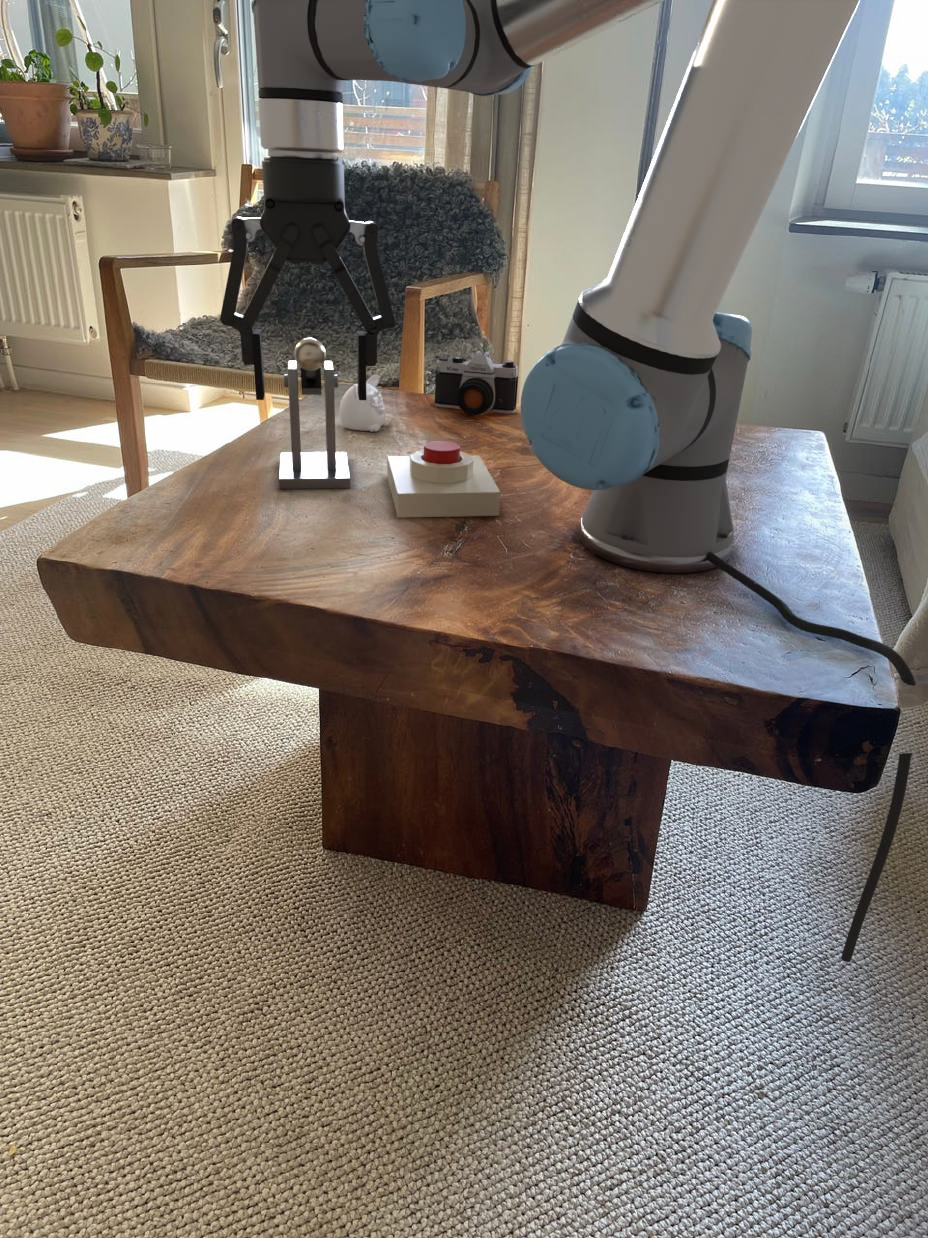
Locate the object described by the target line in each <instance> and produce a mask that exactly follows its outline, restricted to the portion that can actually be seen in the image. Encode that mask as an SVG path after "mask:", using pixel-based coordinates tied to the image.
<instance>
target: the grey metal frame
mask: <svg viewBox="0 0 928 1238" xmlns="http://www.w3.org/2000/svg"><path fill="white" fill-rule="evenodd" d="M333 363H334V362H333V361H332V360H325V362H324V364H323V380H324V381H323V383H324V412H325V413H324V414H325V418H324V419H325V448H326V449H325V451H310V452H309V451H308V452H307V451H306V452H305V451H304V452H302V444H301V442H302V440H301V439H302V438H301V419H300V397H299V396H300V394H299V373H298V372H299V371H298V364H297V362H296V360H288V361H287V374H285V373H284V374H283V386H284V387H283V388H288V405H289V407H288V408H289V425H290V445H291V446H290V447H291V448H290V449H291V451H289V452H288V451H287V452H284V451H283V452H282V451H281V452H280V455H279V469H278V471H279V472H278V489H279V490H300V489H301V490H302V489H303V490H305V489H306V490H307V489H308V490H309V489H310V490H311V489H313V490H314V489H351V473H350V467H349V459H348V453H347V451H337V450H336V449H337V446H336V412H335V410H336V409H335V408H336V407H335V404H336V403H335V402H336V401H335V389H337V388H339V375H338V374H335V369H334V364H333Z"/></svg>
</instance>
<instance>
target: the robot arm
mask: <svg viewBox="0 0 928 1238" xmlns="http://www.w3.org/2000/svg"><path fill="white" fill-rule="evenodd" d="M860 1H861V0H712V2H711V5H710V8H709V10H708V13H707V16H706V18H705V21H704V23H703V26H702V29H701V31H700V34H699V35H698V36H699V37H698V40H697V42H696V45H695V47H694V49H693V53H692V55H691V58H690V61H689V63H688V65H687V68H686V71H685V73H684V76H683V79H682V81H681V84H680V87H679V89H678V93H677V94H676V97H675V99H674V102H673V105H672V108H671V110H670V112H669V114H668V118H667V121H666V123H665V126H664V129H663V132H662V134H661V137H660V139H659V142H658V144H657V147H656V150H655V152H654V155H653V158H652V159H651V163H650V166H649V167H648V171H647V173H646V176H645V178H644V181H643V183H642V186H641V189H640V192H639V194H638V198H637V199H636V202H635V205H634V207H633V210H632V212H631V215H630V218H629V220H628V223H627V226H626V228H625V231H624V233H623V236H622V238H621V242H620V244H619V247H618V249H617V252H616V254H615V257H614V260H613V263H612V265H611V267H610V270H609V273H608V275H607V277H606V278H604V280H602V281H600V282H598V283H596V284H594V285H591V286H590V287H588V288H585V289H584V290H583V291H582V292H581V294H580V295H579V297H578V300H577V303H576V305H575V308H574V310H573V312H572V316H571V318H570V321H569V323H568V327H567V329H566V332H565V335H564V337H563V341H562V343H561V344H559V345H558V346H556V347H554V348H552V349H550V350H549V351H547V352H546V353H545V354H543V356H542V357H541V358H540V359H538V361H536V362H535V364H534V365H533V366H532V368H530V370H529V372H528V374H527V375H526V378H525V381H524V383H523V386H522V391H521V396H520V419H521V425H522V429H523V432H524V434H525V436H526V437H528V441H529V443H530V446H531V450H532V452H533V454H534V455H535V457H536V459H538V461H539V462H540V463H541V465H542V466H543V467H544V468H545V469H546V470H547V471H548V472H550V474H551V475H553V476H554V477H556V478H557V479H559V480H560V481H562V482H564V483H565V484H568V485H570V486H572V487H576V488H578V489H583V490H587V491H589V490H590V491H592V492H591V496H590V499H588V502H587V504H586V506H585V508H584V511H583V513H582V517H581V519H580V528H579V540H580V541H581V544H582V545H583V546H584V547H585V548H586V549H587V550H589V551H590V552H592V553H593V554H594V555H596V556H598V557H600V558H602V559H604V560H606V561H609V562H612V563H614V564H617V565H620V566H623V567H628V568H632V569H636V570H642V571H648V572H656V573H667V574H668V573H670V574H685V573H688V574H689V573H696V572H702V571H708V570H711V569H715V568H719V569H720V570H721V571H723V572H724V573H726V574H727V575H728V576H730V577H731V578H733V579H735V580H736V581H737V582H739V583H740V584H742V585H743V586H745V587H746V588H748V589H749V590H751V591H752V592H753V593H755V594H756V595H758V596H759V597H761V598H762V599H763V600H765V601H766V602H767V603H768V604H770V605H771V606H772V607H774V608H775V609H776V610H777V611H778V613H780V615H781V617H782V618H783V619H784V620H785V621H786V622H787V623H789V625H791V626H793V627H794V628H797V629H799V630H801V631H804V632H807V633H810V634H814V635H819V636H824V637H829V638H834V639H837V640H841V641H845V642H847V643H849V644H851V645H854V646H858V647H861V648H863V649H866V650H869V651H872V652H874V653H877V654H880V655H882V656H883V657H885V658H886V659H887V660H888V661H889V663H891V664H892V666H893V667H894V669H895V670H896V672H897V673H898V675H899V677H900V679H901V681H902V682H903V683H904V684H906V685H908V686H911V687H914V686H916V684H917V683H916V680H915V678H914V674H913V672H912V670H911V669H910V667H909V665H908V664H907V662H906V660H905V659H904V658H903V657H902V655H900V654H899V653H898V651H896V650H894V649H893V648H891V647H890V646H888V645H886V644H885V643H883V642H880V641H877V640H875V639H872V638H868V637H866V636H862V635H860V634H857V633H855V632H852V631H849V630H846V629H843V628H839V627H835V626H830V625H829V626H828V625H824V624H818V623H814V622H810V621H807V620H805V619H803V618H801V617H798V616H797V615H796V614H794V612H793V611H792V609H791V608H790V607H789V606H788V605H787V604H786V602H784V601H783V600H782V599H781V598H779V597H778V596H777V595H776V594H774V593H772V592H771V591H770V590H769V589H768V588H765V587H764V586H762V585H761V584H759V583H758V582H757V581H755V580H753V579H752V578H750V577H749V576H747V575H746V574H744V573H743V572H742V571H740V570H739V569H738V568H736V567H734V566H733V565H731V564H730V563H728V562H727V561H728V560H729V559H730V558H731V555H732V550H733V545H734V541H735V540H734V539H735V535H734V533H735V532H734V524H733V519H732V511H731V504H730V498H729V491H728V483H727V475H728V469H729V464H730V463H729V462H730V457H731V453H732V447H733V444H734V443H733V441H734V437H735V432H736V427H737V422H738V416H739V411H740V406H741V402H742V401H741V400H742V396H743V395H742V394H743V390H744V385H745V380H746V374H747V369H748V363H749V362H750V361H751V358H752V350H751V347H752V337H753V326H752V324H751V322H750V321H749V319H748V318H747V317H745V316H743V315H739V314H732V313H726V312H717V311H718V309H719V306H720V305H721V302H722V300H723V297H724V296H725V293H726V291H727V289H728V287H729V285H730V282H731V281H732V278H733V276H734V274H735V272H736V269H737V268H738V266H739V264H740V261H741V258H742V257H743V254H744V253H745V250H746V247H747V246H748V244H749V241H750V240H751V237H752V235H753V233H754V231H755V229H756V226H757V224H758V223H759V220H760V217H761V215H762V213H763V211H764V209H765V207H766V205H767V203H768V200H769V198H770V196H771V194H772V191H773V190H774V187H775V185H776V183H777V181H778V178H779V177H780V174H781V172H782V170H783V169H784V166H785V164H786V161H787V159H788V158H789V155H790V153H791V151H792V149H793V146H794V144H795V143H796V140H797V138H798V136H799V133H800V131H801V129H802V127H803V125H804V123H805V121H806V118H807V116H808V114H809V112H810V110H811V108H812V105H813V103H814V101H815V99H816V97H817V95H818V92H819V90H820V88H821V86H822V84H823V82H824V79H825V77H826V75H827V73H828V70H829V68H830V66H831V64H832V62H833V60H834V58H835V56H836V54H837V52H838V49H839V47H840V45H841V43H842V40H843V38H844V37H845V34H846V32H847V30H848V27H849V25H850V23H851V21H852V19H853V18H854V16H855V15H854V14H855V13H856V11H857V9H858V6H859V4H860ZM662 2H665V0H251V4H250V5H251V12H252V14H253V15H252V16H253V26H254V42H255V59H256V72H257V73H256V74H257V86H258V87H257V89H258V90H257V91H258V92H257V93H258V99H257V101H258V117H259V118H258V119H259V135H260V147H262V149H263V150H267V156H263V160H261V167H262V168H261V169H262V170H261V171H262V189H263V203H264V204H263V210H262V213H261V215H260V217H242V216H240V215H239V216H235V217H234V218H233V219H232V220H231V222H230V223H231V225H230V226H231V232H232V240H233V248H232V254H231V259H230V263H229V264H230V265H229V270H228V275H227V279H226V284H225V290H224V296H223V300H222V305H221V311H220V316H219V322H220V323H221V324H222V325H223V326H226V327H227V326H228V327H231V328H234V329H235V330H237V331H238V333H239V336H240V350H241V360H242V362H243V363H242V364H244V366H253V372H254V386H255V388H254V389H255V400H256V401H264V400H265V394H266V392H265V375H264V357H263V343H262V342H263V341H262V330H261V329H260V328H254V326H255V323H256V321H257V319H258V317H259V315H260V313H261V311H262V309H263V307H264V305H265V303H266V301H267V299H268V297H269V295H270V293H271V291H272V289H273V286H274V284H275V283H276V281H277V279H278V276H279V274H280V272H281V270H282V269H283V267H284V264H285V263H286V262H288V263H290V264H292V265H293V264H295V265H299V264H304V263H310V264H314V265H324V264H326V263H328V265H329V266H330V268H331V270H332V272H333V273H334V275H335V278H336V280H337V281H338V282H339V284H340V286H341V288H342V290H343V292H344V294H345V295H346V297H347V300H348V301H349V303H350V305H351V306H352V309H353V310H354V312H355V314H356V315H357V317H358V319H359V321H360V323H361V325H362V327H363V330H356V354H357V355H356V356H357V357H356V358H357V359H356V364H357V368H356V369H357V370H356V371H357V384H358V397H359V400H366V381H367V367H375V366H376V365H377V362H378V335H379V333H380V332H382V331H384V330H387V329H392V328H394V326H395V324H396V319H395V315H394V311H393V307H392V304H391V300H390V299H391V298H390V296H389V295H390V294H389V291H388V288H387V283H386V280H385V276H384V272H383V269H382V265H381V261H380V257H379V253H378V249H377V247H378V235H379V228H378V225H377V224H376V223H375V222H374V221H372V220H368V221H365V222H364V221H357V220H356V221H355V220H350V219H349V216H348V214H347V212H346V199H345V197H346V196H345V195H346V194H345V163H343V161H342V160H341V159H339V156H338V154H339V153H342V152H343V151H344V149H345V146H344V144H345V141H344V137H345V135H344V104H343V103H344V96H343V93H344V81H348V82H349V81H374V82H375V81H376V82H377V81H378V82H379V81H380V82H395V83H400V84H409V85H415V86H423V87H431V88H438V89H439V88H440V89H447V90H453V91H459V92H465V93H469V94H472V95H474V96H475V95H476V96H479V97H491V96H494V95H496V96H497V95H500V96H501V95H506V94H507V95H508V94H510V93H512V92H514V91H515V90H517V89H518V88H520V87H521V86H522V85H523V84H524V82H525V81H526V79H527V78H528V76H529V75H530V74H531V72H532V70H533V67H535V66H537V65H539V64H540V63H542V62H545V61H547V60H549V59H551V58H552V57H554V56H557V55H558V54H561V53H562V52H565V51H566V50H568V49H570V48H573V47H574V46H576V45H579V44H580V43H583V42H584V41H586V40H589V39H590V38H592V37H595V36H597V35H599V34H600V33H603V32H604V31H606V30H608V29H610V28H612V27H615V26H616V25H618V24H620V23H622V22H624V21H626V20H628V19H630V18H632V17H634V16H636V15H639V14H640V13H642V12H645V11H646V10H649V9H651V8H652V7H655V6H657V5H658V4H660V3H662ZM259 230H260V231H261V230H262V232H263V233H264V235H265V236H266V237H267V239H268V240H269V241H270V243H271V244H272V246H273V247H274V251H273V253H272V254H271V257H270V259H269V261H268V263H267V266H266V268H265V270H264V272H263V273H262V276H261V278H260V280H259V281H258V284H257V286H256V288H255V290H254V292H253V295H252V297H251V298H250V301H249V303H248V305H247V306H246V309H245V311H244V313H243V314H241V313H239V312H236V311H237V306H238V301H239V295H240V291H241V286H242V282H243V281H242V279H243V275H244V271H245V270H244V269H245V265H246V260H247V255H248V249H249V243H253V242H254V240H255V239H256V236H257V235H256V234H257V232H258V231H259ZM349 233H351V234H352V235H353V236H354V238H355V241H356V243H357V245H358V246H361V247H362V249H363V254H364V259H365V262H366V266H367V269H368V273H369V277H370V278H369V279H370V281H371V285H372V289H373V292H374V293H373V294H374V296H375V300H376V304H377V308H378V313H379V315H377V316H374V317H373V316H372V314H371V311H370V309H369V308H368V306H367V304H366V302H365V300H364V298H363V296H362V295H361V293H360V291H359V289H358V286H357V285H356V283H355V281H354V280H353V278H352V276H351V274H350V272H349V270H348V269H347V267H346V265H345V263H344V261H343V259H342V258H341V255H340V253H339V252H338V249H339V248H340V246H341V245H342V243H343V242H344V240H346V238H347V237H348V235H349ZM911 761H912V752H907V753H906V752H905V753H904V752H903V753H899V755H898V762H897V768H896V775H895V780H894V788H893V792H892V796H891V800H890V805H889V809H888V810H889V811H888V812H887V813H888V814H887V817H886V822H885V825H884V828H883V831H882V835H881V838H880V841H879V844H878V848H877V851H876V853H875V857H874V860H873V863H872V866H871V868H870V871H869V874H868V877H867V879H866V882H865V885H864V887H863V890H862V893H861V896H860V898H859V901H858V904H857V906H856V909H855V912H854V915H853V917H852V921H851V923H850V927H849V930H848V932H847V937H846V940H845V943H844V946H843V950H842V953H841V956H840V958H841V960H842V961H843V962H845V963H851V961H852V959H853V955H854V952H855V948H856V946H857V942H858V939H859V936H860V933H861V930H862V927H863V924H864V921H865V919H866V916H867V913H868V910H869V908H870V904H871V902H872V899H873V897H874V894H875V892H876V889H877V886H878V883H879V880H880V878H881V876H882V873H883V870H884V867H885V864H886V862H887V859H888V856H889V854H890V850H891V848H892V845H893V840H894V837H895V835H896V831H897V828H898V824H899V820H900V816H901V813H902V808H903V804H904V800H905V795H906V790H907V785H908V779H909V774H910V768H911Z"/></svg>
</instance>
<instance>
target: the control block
mask: <svg viewBox="0 0 928 1238" xmlns="http://www.w3.org/2000/svg"><path fill="white" fill-rule="evenodd" d="M386 457H387V458H386V463H387V464H386V467H387V468H386V471H387V472H386V473H387V474H386V477H387V482H388V486H389V490H390V494H391V498H392V502H393V505H394V510H395V513H396V517H397V518H452V517H454V518H455V517H456V518H457V517H499V516H500V505H501V491H500V489H499V487H498V485H497V483H496V482H495V481H494V478H493V476H492V475H491V473H490V472H489V470H488V468H487V466H486V464H485V463H484V461H483V459H482V457H481V456H480V455H471V454H469V453H466V452H465V451H462V450H460V462H458V463H453V464H435V463H429V462H427V461H424V449H421V450H416V451H415V452H413V453H411V454H410V455H387V456H386Z"/></svg>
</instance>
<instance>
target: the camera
mask: <svg viewBox="0 0 928 1238" xmlns="http://www.w3.org/2000/svg"><path fill="white" fill-rule="evenodd" d="M489 354H490V351H485V352H484V353H483V352H482V350H478V351H476V353H475V355H474V356H473V357H472V358H471V359H470V360H469V361H468V360H467V358H464V357H463V356H459V355H458V356H457V355H456V356H452V357H446V356H440V357H438V358H437V360H436V361H435V366H434V371H433V372H434V374H435V376H434V377H435V379H434V382H435V383H434V385H435V386H434V401H433V402H434V406H435V407H439V408H449V409H455V410H456V409H457V410H461V411H462V412H463V413H464V414H466V415H468V416H470V417H471V416H472V417H477V416H481V415H484V414H485V415H486V414H489V413H500V414H514V413H515V411H516V410H517V399H518V385H519V384H518V383H519V376H518V375H519V374H518V373H519V365H515V362H514V361H513V360H504V363H493V361H492V359H491V358H490V355H489Z"/></svg>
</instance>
